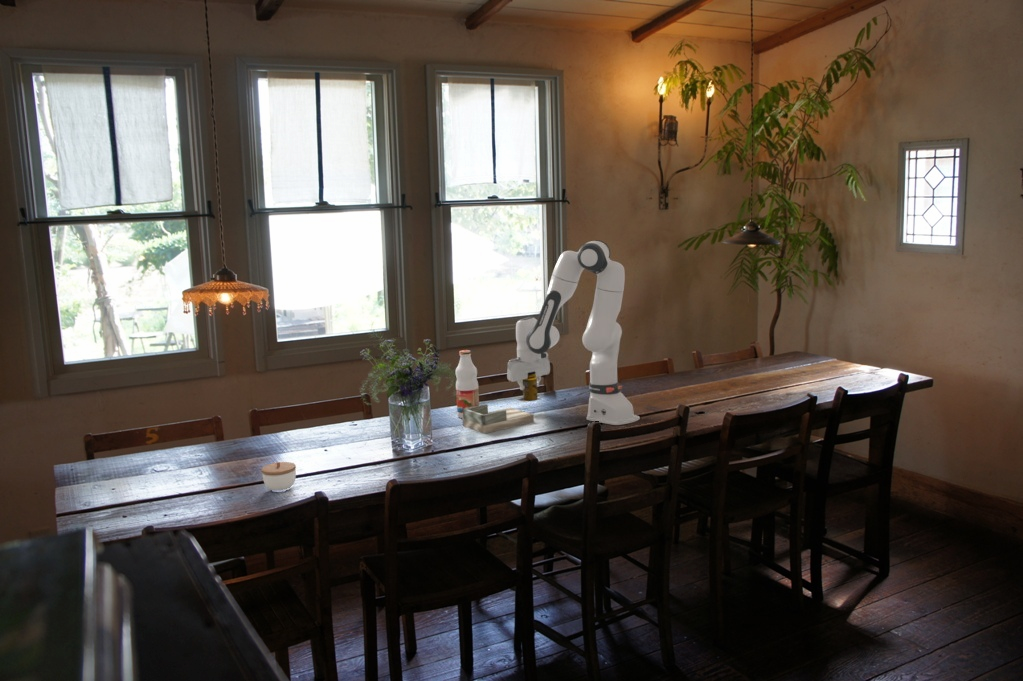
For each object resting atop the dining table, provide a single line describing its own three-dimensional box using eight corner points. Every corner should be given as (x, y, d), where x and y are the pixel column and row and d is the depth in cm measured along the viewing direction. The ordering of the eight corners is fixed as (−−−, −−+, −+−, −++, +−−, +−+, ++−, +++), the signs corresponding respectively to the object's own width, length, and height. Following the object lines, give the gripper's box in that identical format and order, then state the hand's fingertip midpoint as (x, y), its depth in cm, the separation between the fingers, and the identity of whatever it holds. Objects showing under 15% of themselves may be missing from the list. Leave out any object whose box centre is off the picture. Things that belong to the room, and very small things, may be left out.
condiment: (541, 399, 357) (540, 371, 356) (525, 402, 353) (523, 374, 351) (532, 396, 364) (530, 369, 362) (515, 399, 359) (514, 372, 357)
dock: (533, 421, 346) (533, 404, 345) (484, 433, 333) (483, 416, 331) (510, 414, 359) (510, 398, 358) (462, 425, 346) (461, 408, 344)
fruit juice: (484, 416, 359) (480, 350, 354) (464, 420, 354) (460, 354, 349) (472, 412, 366) (469, 348, 362) (453, 415, 361) (449, 351, 357)
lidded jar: (275, 483, 285) (272, 456, 283) (303, 485, 282) (301, 457, 280) (257, 494, 275) (254, 466, 273) (286, 496, 272) (283, 468, 270)
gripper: (511, 360, 347) (514, 393, 350) (551, 352, 359) (553, 385, 361) (503, 359, 352) (505, 391, 355) (542, 351, 364) (544, 383, 366)
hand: (529, 388), depth 358 cm, fingers closed on condiment, 6 cm apart
